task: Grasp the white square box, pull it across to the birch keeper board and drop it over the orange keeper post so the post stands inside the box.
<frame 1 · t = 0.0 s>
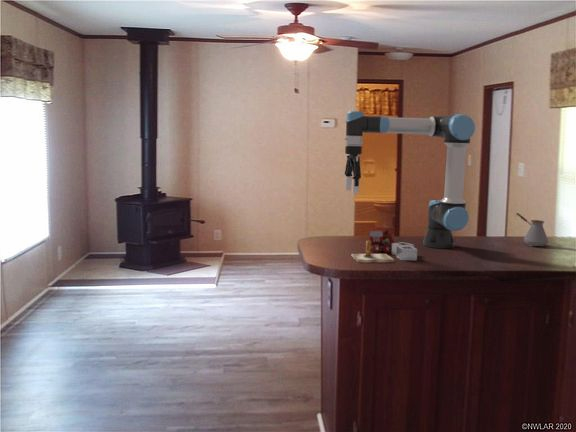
hand: (351, 192, 274), 28 cm above the table, fingers open, 13 cm apart
toy fire truck: (380, 252, 280), on the table
white block with hole: (402, 254, 274), on the table
coffee pot: (528, 244, 309), on the table
keeper: (372, 259, 262), on the table
white square box: (406, 258, 266), on the table
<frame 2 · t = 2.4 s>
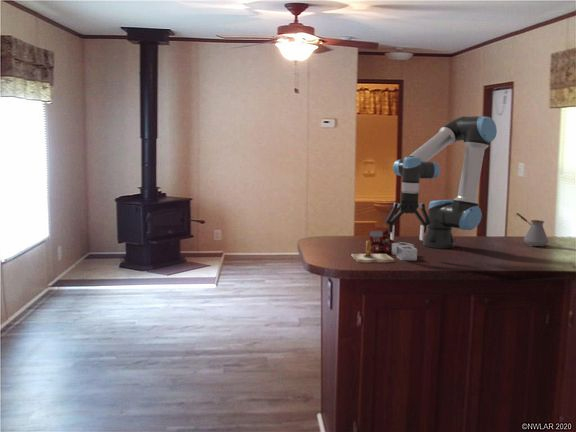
hand: (406, 239, 264), 9 cm above the table, fingers open, 13 cm apart
nothing on the table moved.
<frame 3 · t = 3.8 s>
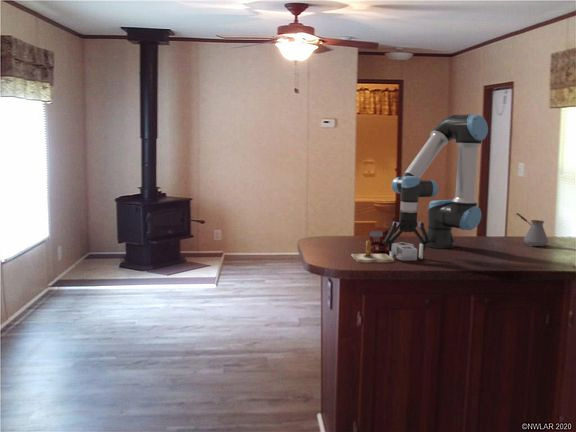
hand: (405, 258, 266), 0 cm above the table, fingers open, 13 cm apart
nothing on the table moved.
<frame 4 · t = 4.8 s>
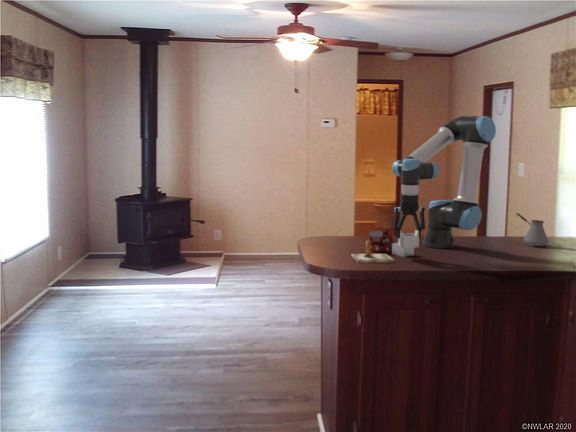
hand: (408, 245, 265), 6 cm above the table, fingers closed on white square box, 7 cm apart
white square box: (408, 246, 265), point 6 cm above the table, touching gripper
everything else where it was.
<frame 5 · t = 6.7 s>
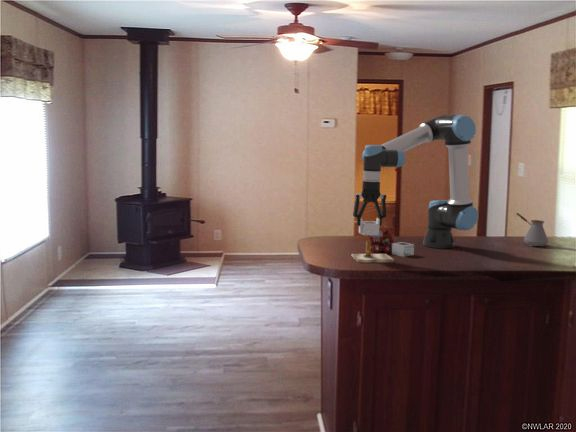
hand: (368, 233, 260), 12 cm above the table, fingers closed on white square box, 7 cm apart
white square box: (368, 233, 260), point 11 cm above the table, touching gripper
everything else where it was.
when the fingers open (3 cm above the table, at t = 8.5 s): white square box stays where it is, resting on keeper.
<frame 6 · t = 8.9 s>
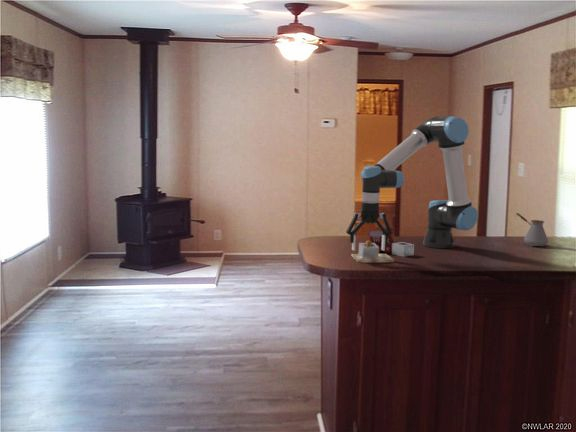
hand: (368, 250, 262), 4 cm above the table, fingers open, 13 cm apart
white square box: (368, 256, 262), point 2 cm above the table, tilted 5°, touching keeper
everything else where it was.
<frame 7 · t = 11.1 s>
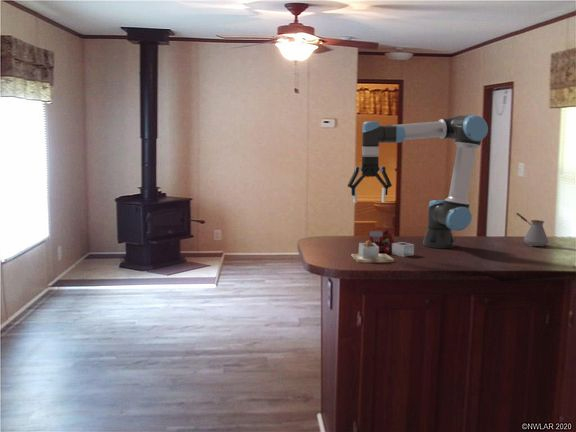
hand: (369, 202, 272), 24 cm above the table, fingers open, 13 cm apart
nothing on the table moved.
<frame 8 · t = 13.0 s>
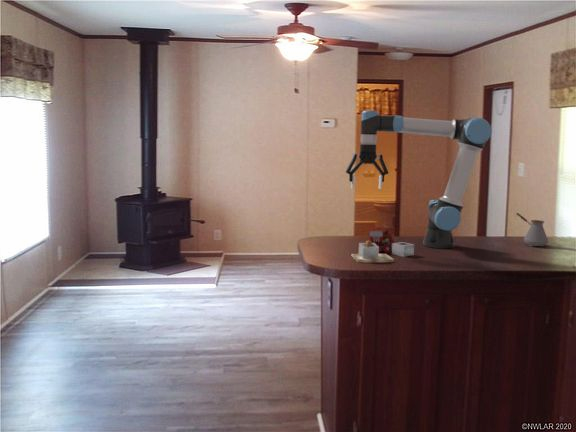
hand: (366, 188, 283), 29 cm above the table, fingers open, 13 cm apart
nothing on the table moved.
at the end: white square box 0.2 cm from the target spot on the keeper, point 1.5 cm above the keeper's base; the gripper is holding nothing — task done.
